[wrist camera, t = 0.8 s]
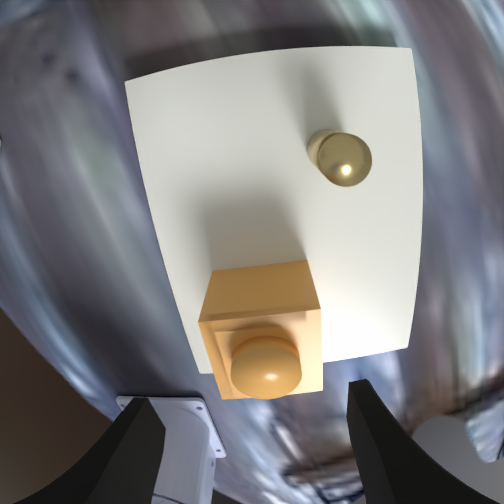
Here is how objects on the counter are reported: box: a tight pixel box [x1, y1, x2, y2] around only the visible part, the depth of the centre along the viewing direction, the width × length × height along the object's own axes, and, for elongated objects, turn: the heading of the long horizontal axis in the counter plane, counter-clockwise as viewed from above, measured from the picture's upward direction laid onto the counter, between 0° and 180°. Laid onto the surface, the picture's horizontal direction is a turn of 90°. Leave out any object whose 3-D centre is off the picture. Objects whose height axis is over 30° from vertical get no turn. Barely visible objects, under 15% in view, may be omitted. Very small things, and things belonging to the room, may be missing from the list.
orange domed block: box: [198, 260, 323, 399], centre depth 15 cm, size 5×5×6 cm
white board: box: [125, 46, 423, 374], centre depth 17 cm, size 18×14×2 cm
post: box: [307, 129, 372, 187], centre depth 13 cm, size 2×2×4 cm
